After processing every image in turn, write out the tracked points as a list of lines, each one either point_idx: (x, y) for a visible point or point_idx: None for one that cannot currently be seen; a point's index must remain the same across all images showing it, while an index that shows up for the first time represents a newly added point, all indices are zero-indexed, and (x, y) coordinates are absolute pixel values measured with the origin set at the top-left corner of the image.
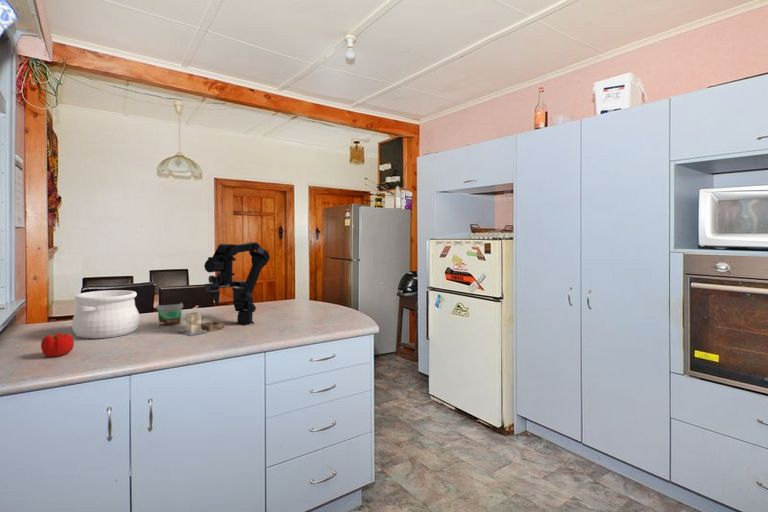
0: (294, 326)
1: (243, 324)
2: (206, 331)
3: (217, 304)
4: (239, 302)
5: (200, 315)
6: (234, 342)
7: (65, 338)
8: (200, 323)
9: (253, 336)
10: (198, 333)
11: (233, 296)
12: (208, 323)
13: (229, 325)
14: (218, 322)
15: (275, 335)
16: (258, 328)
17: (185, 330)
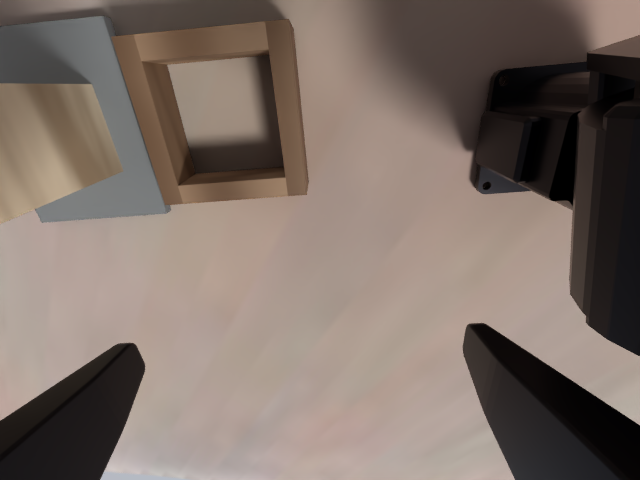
0: (616, 394)
1: (477, 188)
2: (156, 207)
3: (129, 383)
4: (625, 264)
5: (3, 219)
6: (220, 429)
7: None
8: (74, 190)
9: (333, 410)
10: (95, 218)
11: (548, 426)
12: (208, 55)
13: (406, 98)
14: (290, 116)
15: (411, 446)
16: (467, 316)
17: (3, 53)
